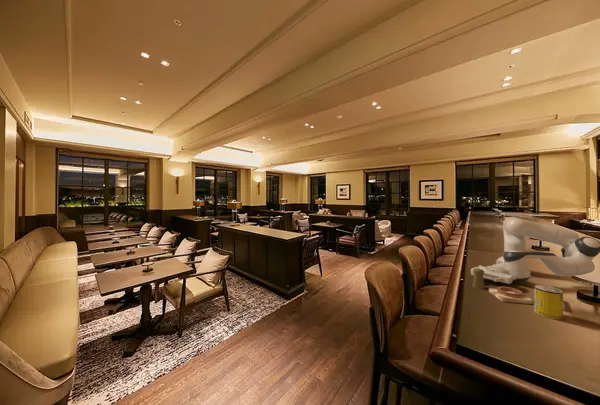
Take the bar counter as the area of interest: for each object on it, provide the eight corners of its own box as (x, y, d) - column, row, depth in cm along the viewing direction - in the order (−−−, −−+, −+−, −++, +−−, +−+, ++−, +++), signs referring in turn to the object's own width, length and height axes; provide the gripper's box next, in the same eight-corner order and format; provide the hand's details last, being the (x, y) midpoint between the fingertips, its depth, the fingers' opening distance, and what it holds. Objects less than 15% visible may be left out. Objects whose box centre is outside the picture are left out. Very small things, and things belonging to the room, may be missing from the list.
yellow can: (553, 311, 108) (553, 286, 107) (568, 321, 99) (568, 294, 99) (529, 308, 110) (529, 284, 110) (542, 317, 102) (542, 291, 102)
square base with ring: (488, 291, 130) (488, 284, 130) (516, 293, 127) (516, 286, 127) (502, 301, 118) (502, 294, 118) (533, 304, 114) (533, 296, 114)
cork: (487, 289, 133) (487, 270, 133) (475, 288, 134) (475, 270, 134) (481, 285, 139) (481, 267, 139) (470, 284, 140) (470, 267, 140)
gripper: (517, 283, 135) (507, 288, 128) (477, 273, 153) (466, 278, 146) (517, 273, 135) (507, 277, 128) (477, 264, 153) (466, 268, 146)
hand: (485, 277), depth 137 cm, fingers open, 8 cm apart
